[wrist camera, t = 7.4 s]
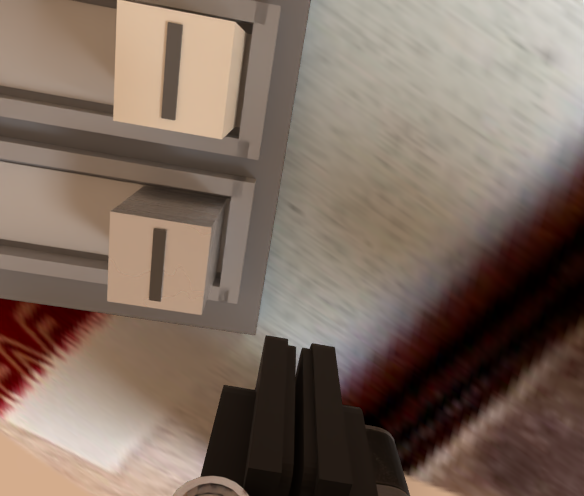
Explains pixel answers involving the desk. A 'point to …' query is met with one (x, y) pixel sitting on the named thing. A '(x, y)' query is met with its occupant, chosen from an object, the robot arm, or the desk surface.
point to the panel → (133, 154)
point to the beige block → (164, 249)
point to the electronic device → (386, 463)
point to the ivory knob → (177, 70)
